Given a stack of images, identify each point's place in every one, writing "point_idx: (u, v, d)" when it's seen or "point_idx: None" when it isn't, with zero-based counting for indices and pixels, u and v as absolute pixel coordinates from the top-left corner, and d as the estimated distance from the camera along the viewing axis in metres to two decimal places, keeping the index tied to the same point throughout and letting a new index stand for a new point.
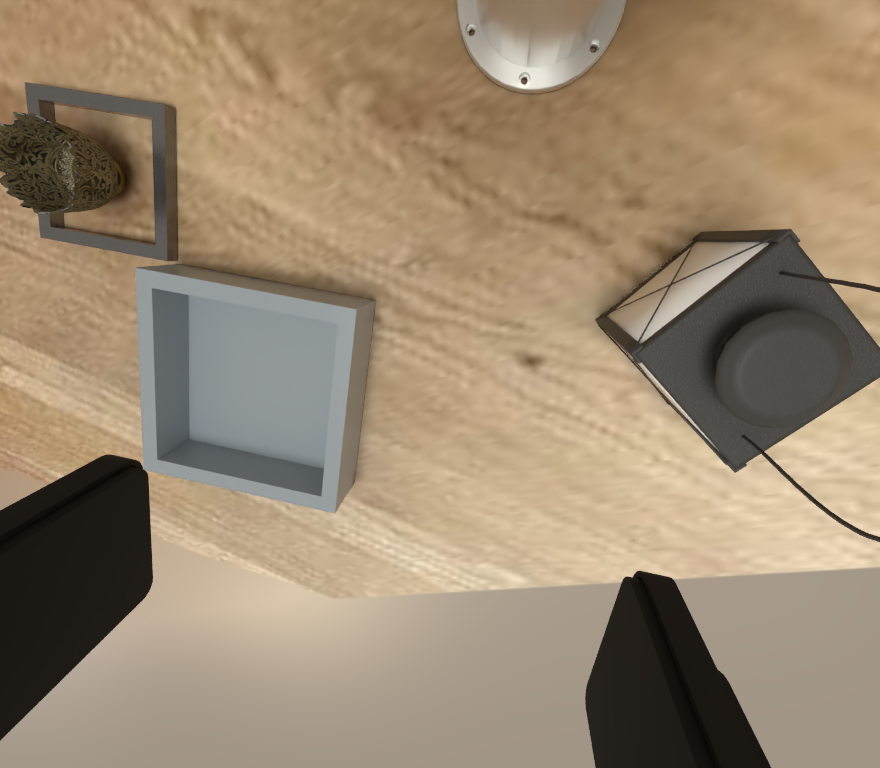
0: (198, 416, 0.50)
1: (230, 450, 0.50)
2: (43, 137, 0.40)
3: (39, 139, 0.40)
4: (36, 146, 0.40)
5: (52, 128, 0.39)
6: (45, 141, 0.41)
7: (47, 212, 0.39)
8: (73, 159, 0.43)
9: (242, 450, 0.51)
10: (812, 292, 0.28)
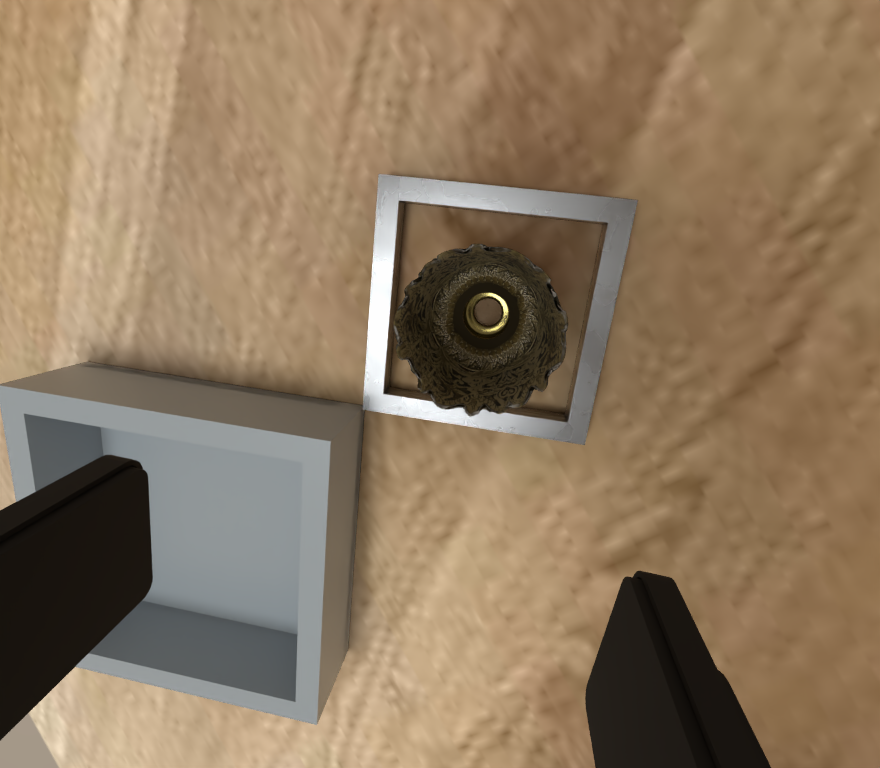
0: None
1: None
2: (536, 284, 0.22)
3: (532, 279, 0.22)
4: (521, 269, 0.22)
5: (549, 313, 0.22)
6: (531, 279, 0.23)
7: (398, 335, 0.21)
8: (508, 283, 0.25)
9: None
10: None
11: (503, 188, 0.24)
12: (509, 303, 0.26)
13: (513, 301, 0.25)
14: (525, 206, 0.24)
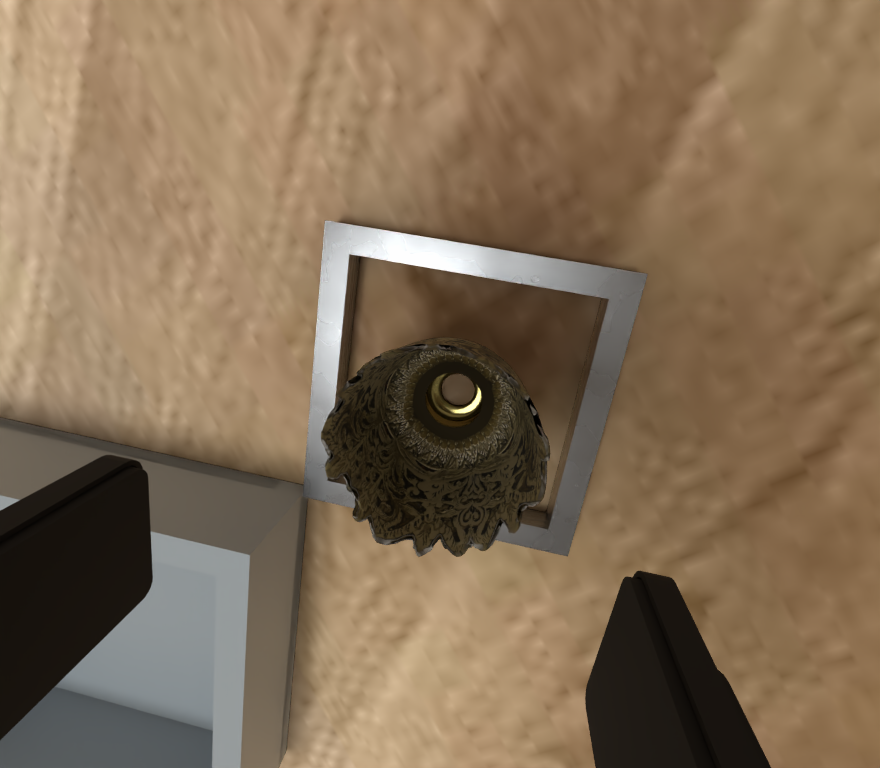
0: None
1: None
2: None
3: (509, 374, 0.17)
4: None
5: (528, 419, 0.17)
6: None
7: (329, 448, 0.16)
8: (481, 365, 0.20)
9: None
10: None
11: (480, 248, 0.19)
12: (483, 388, 0.21)
13: (487, 386, 0.20)
14: (507, 272, 0.19)
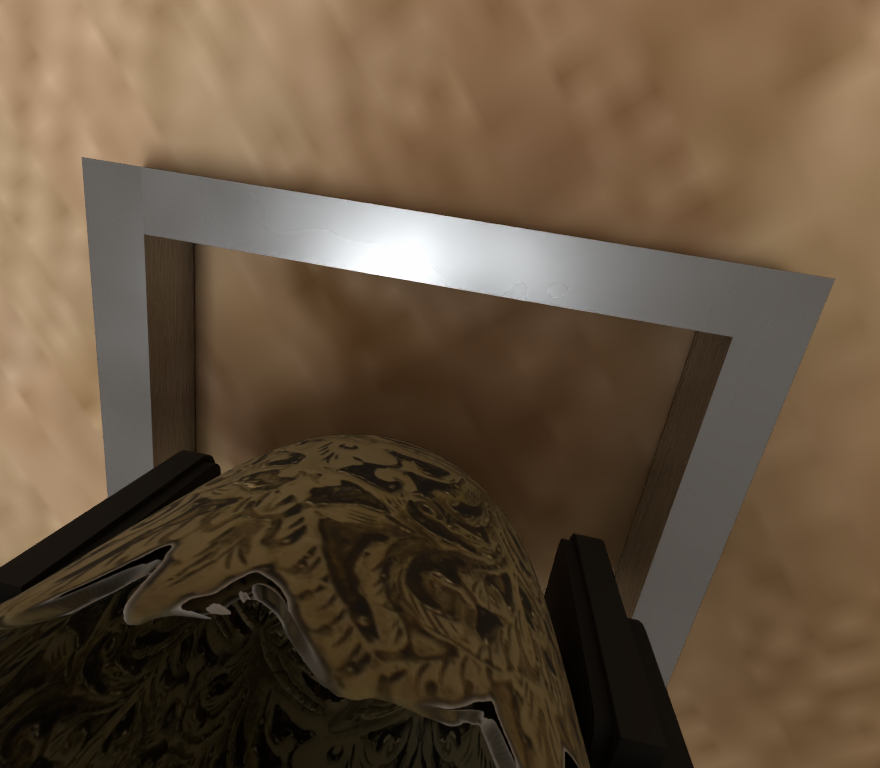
0: None
1: None
2: None
3: None
4: None
5: None
6: None
7: None
8: None
9: None
10: None
11: (429, 219, 0.08)
12: None
13: None
14: (493, 275, 0.08)
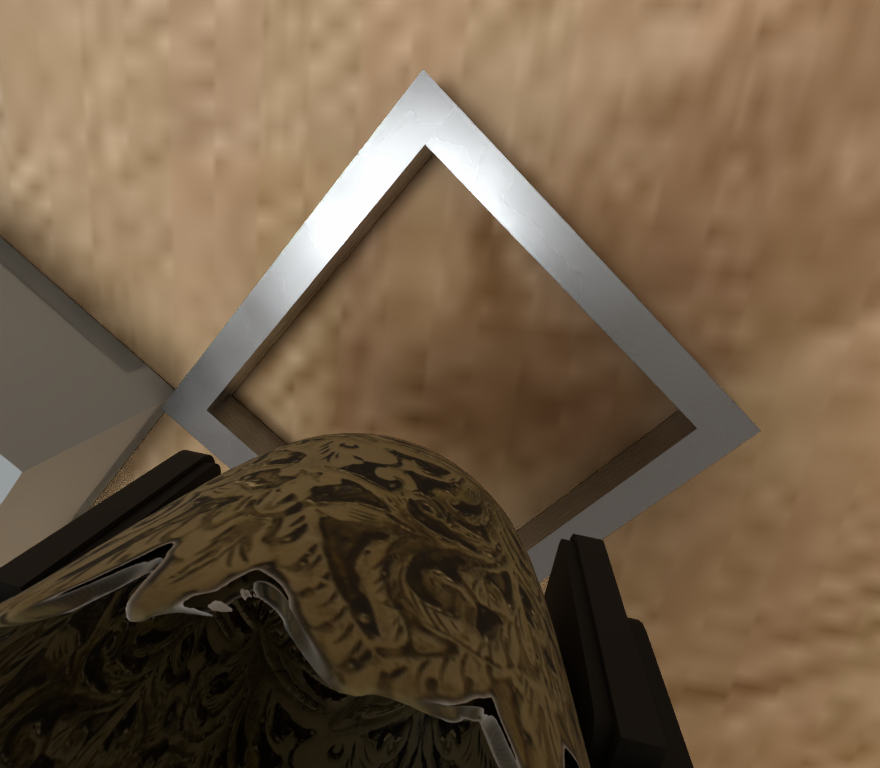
0: None
1: None
2: None
3: None
4: None
5: None
6: None
7: None
8: None
9: None
10: None
11: (599, 263, 0.13)
12: None
13: None
14: (608, 316, 0.13)
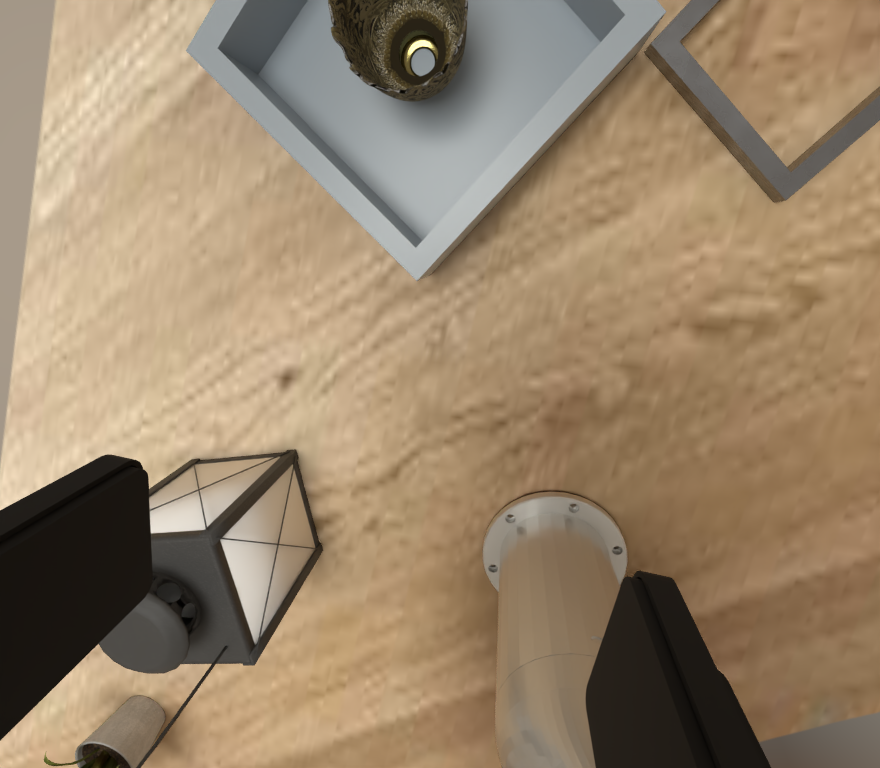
0: None
1: None
2: None
3: None
4: None
5: (462, 20, 0.27)
6: None
7: (333, 17, 0.25)
8: (436, 17, 0.29)
9: None
10: (202, 653, 0.34)
11: None
12: (438, 40, 0.30)
13: (440, 37, 0.30)
14: None
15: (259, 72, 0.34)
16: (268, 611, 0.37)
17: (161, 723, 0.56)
